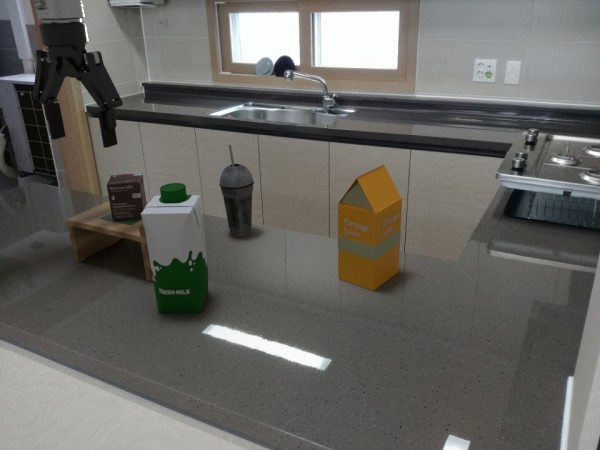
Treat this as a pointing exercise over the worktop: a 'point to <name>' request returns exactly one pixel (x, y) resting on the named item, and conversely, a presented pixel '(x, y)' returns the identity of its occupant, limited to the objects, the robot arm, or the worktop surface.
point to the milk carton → (176, 249)
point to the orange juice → (369, 230)
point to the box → (126, 196)
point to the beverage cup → (237, 197)
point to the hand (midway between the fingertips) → (84, 141)
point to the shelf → (105, 233)
